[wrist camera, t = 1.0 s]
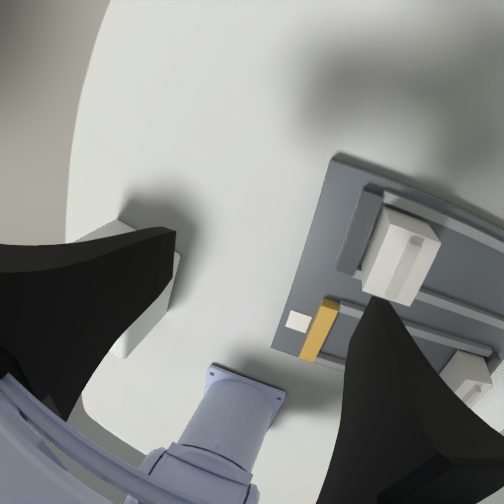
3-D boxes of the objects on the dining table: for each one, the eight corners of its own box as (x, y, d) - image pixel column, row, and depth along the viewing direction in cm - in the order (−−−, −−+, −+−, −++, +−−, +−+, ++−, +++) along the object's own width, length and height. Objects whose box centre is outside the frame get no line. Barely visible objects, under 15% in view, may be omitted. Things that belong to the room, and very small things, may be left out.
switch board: (466, 391, 21) (470, 408, 19) (274, 338, 25) (267, 355, 23) (554, 258, 14) (567, 271, 12) (330, 158, 18) (328, 162, 16)
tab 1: (402, 279, 18) (411, 312, 14) (361, 264, 18) (362, 297, 15) (427, 223, 16) (444, 248, 13) (383, 206, 16) (391, 227, 13)
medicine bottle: (109, 278, 28) (24, 347, 18) (116, 216, 25) (7, 280, 14) (167, 314, 27) (88, 403, 17) (183, 253, 24) (80, 346, 14)
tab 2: (457, 388, 20) (463, 422, 16) (431, 383, 20) (436, 418, 17) (483, 356, 18) (494, 390, 14) (457, 349, 18) (468, 385, 15)
